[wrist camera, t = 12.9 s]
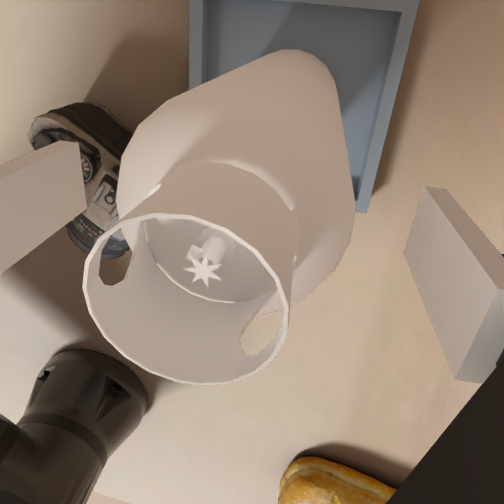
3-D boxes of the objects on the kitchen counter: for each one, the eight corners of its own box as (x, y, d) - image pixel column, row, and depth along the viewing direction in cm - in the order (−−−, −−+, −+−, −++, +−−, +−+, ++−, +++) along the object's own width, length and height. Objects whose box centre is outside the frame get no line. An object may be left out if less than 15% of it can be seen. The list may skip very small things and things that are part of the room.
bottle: (268, 27, 30) (47, 31, 6) (358, 81, 31) (462, 261, 7) (225, 123, 35) (-9, 343, 10) (305, 168, 35) (260, 468, 11)
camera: (46, 168, 40) (-29, 206, 32) (91, 85, 35) (18, 104, 27) (171, 262, 44) (134, 320, 35) (227, 198, 39) (201, 247, 30)
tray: (196, 179, 38) (188, 188, 36) (198, -21, 30) (189, -25, 28) (364, 202, 37) (366, 213, 35) (413, -2, 29) (421, -5, 27)
